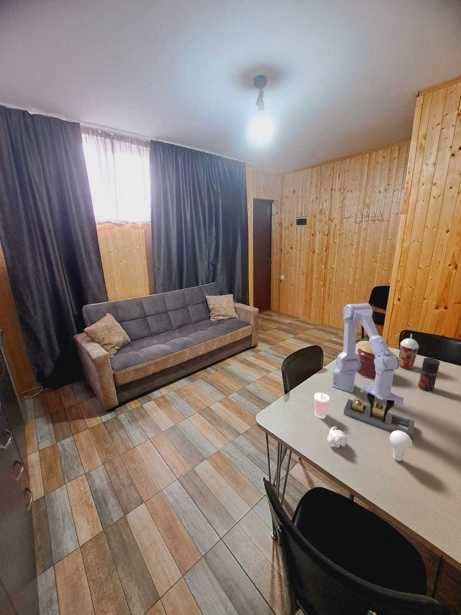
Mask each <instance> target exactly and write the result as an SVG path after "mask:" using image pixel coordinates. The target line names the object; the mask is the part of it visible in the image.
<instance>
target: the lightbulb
mask: <svg viewBox="0 0 461 615" xmlns="http://www.w3.org/2000/svg"><path fill="white" fill-rule="evenodd" d="M389 441H390V442H389V443H390V444H391V446H392V457H393V459H394V460H396V461H398V462H402V460H403V457H404V456H405V454H406V452H408V451H409V450H411V449H412V446H413V440H412V439H411V438H410V437H409V436H408V434H406V433H405V432H403V431H399V430H397V431H394V432H390V435H389Z"/></svg>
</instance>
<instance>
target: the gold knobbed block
mask: <svg viewBox="0 0 461 615" xmlns="http://www.w3.org/2000/svg"><path fill="white" fill-rule="evenodd" d="M365 403H366V402H364V401H362V400H359V399H356V398H354V399H353V403H352V407H351V410H354V411H356V412H359V413H362V414H364V411H363V409H364V404H365Z"/></svg>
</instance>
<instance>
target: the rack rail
mask: <svg viewBox="0 0 461 615" xmlns="http://www.w3.org/2000/svg"><path fill="white" fill-rule="evenodd" d="M353 401H354V399H353V400H352V399H350V398H348V399H347V401H346V404H345V406H344V408H343V415H346V416H348V417H350V418H353V419H356V420H359V421H362V422H364V423H367V424H369V425H372V426H375V427H378V428H380V429H383V430H386V431H389V432H390V433H392V432H394V431H397V430H399V431H403V432H405V433H406V434H408V436H409V437H410V438H411V440H412V441H413V439H414V435H415V420H412V419H409V418H406V417H404V416H401V415H398V414H394V413H391V412H389V411H388V412H387V414H386V416H384V418H383V419H385V420H383V421H382V420H379V419H376V418H373V417H372V416H371V415H372V411H371V407H370V405H368V404H365V403H364V409H363V414H362V413H359V412H356V411H354V410H352V403H353ZM392 422H394V423H397V424H400V425H403V426H406V427H407V428H404V427H400V426H398V425H396V424H392Z"/></svg>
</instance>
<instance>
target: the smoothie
mask: <svg viewBox="0 0 461 615" xmlns="http://www.w3.org/2000/svg"><path fill="white" fill-rule="evenodd" d="M412 337H413V334H412V333H410V336H409V338H405V339H403V340H402V341H400V343H399V344H400V345H399V354H398V359H399V362H400V365H399V367H400V368H401V369H404V370H412V369H413V368H414V364H415V361H416V358H417V354H418V351H419V348H420V346H419V344H418V343H419V342H417V341H416V340H415V339H414V338H412Z"/></svg>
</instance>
